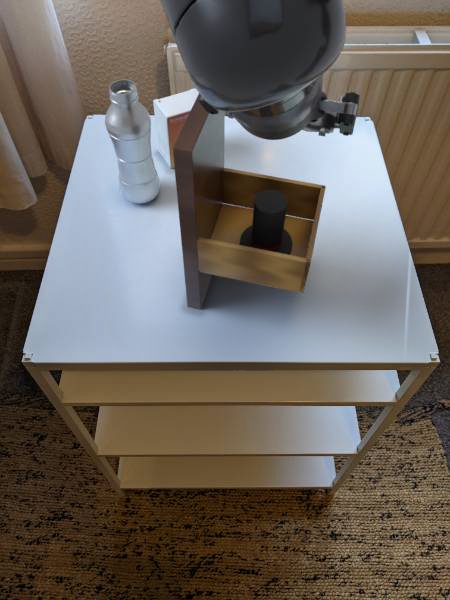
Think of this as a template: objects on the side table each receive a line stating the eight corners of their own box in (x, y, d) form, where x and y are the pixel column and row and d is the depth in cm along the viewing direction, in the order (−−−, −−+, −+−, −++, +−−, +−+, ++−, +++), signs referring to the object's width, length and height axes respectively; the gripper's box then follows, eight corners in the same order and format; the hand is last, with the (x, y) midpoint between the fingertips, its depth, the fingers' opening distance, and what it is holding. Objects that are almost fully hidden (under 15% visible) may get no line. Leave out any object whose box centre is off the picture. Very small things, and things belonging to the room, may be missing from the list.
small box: (170, 169, 88) (165, 118, 80) (158, 151, 91) (151, 99, 82) (211, 156, 91) (210, 104, 82) (197, 138, 93) (195, 86, 85)
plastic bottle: (164, 205, 83) (150, 97, 67) (123, 211, 83) (99, 103, 66) (158, 179, 87) (144, 70, 70) (119, 184, 86) (95, 76, 70)
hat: (296, 230, 68) (304, 186, 62) (286, 270, 65) (294, 227, 58) (246, 221, 69) (249, 176, 63) (234, 259, 66) (235, 216, 59)
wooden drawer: (308, 259, 77) (347, 95, 54) (294, 330, 70) (331, 175, 47) (211, 239, 79) (207, 73, 56) (187, 306, 72) (172, 147, 49)
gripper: (380, 38, 35) (359, 92, 51) (186, 12, 37) (224, 72, 53) (356, 146, 37) (343, 167, 53) (171, 116, 39) (211, 145, 55)
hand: (283, 119), depth 53 cm, fingers open, 8 cm apart
